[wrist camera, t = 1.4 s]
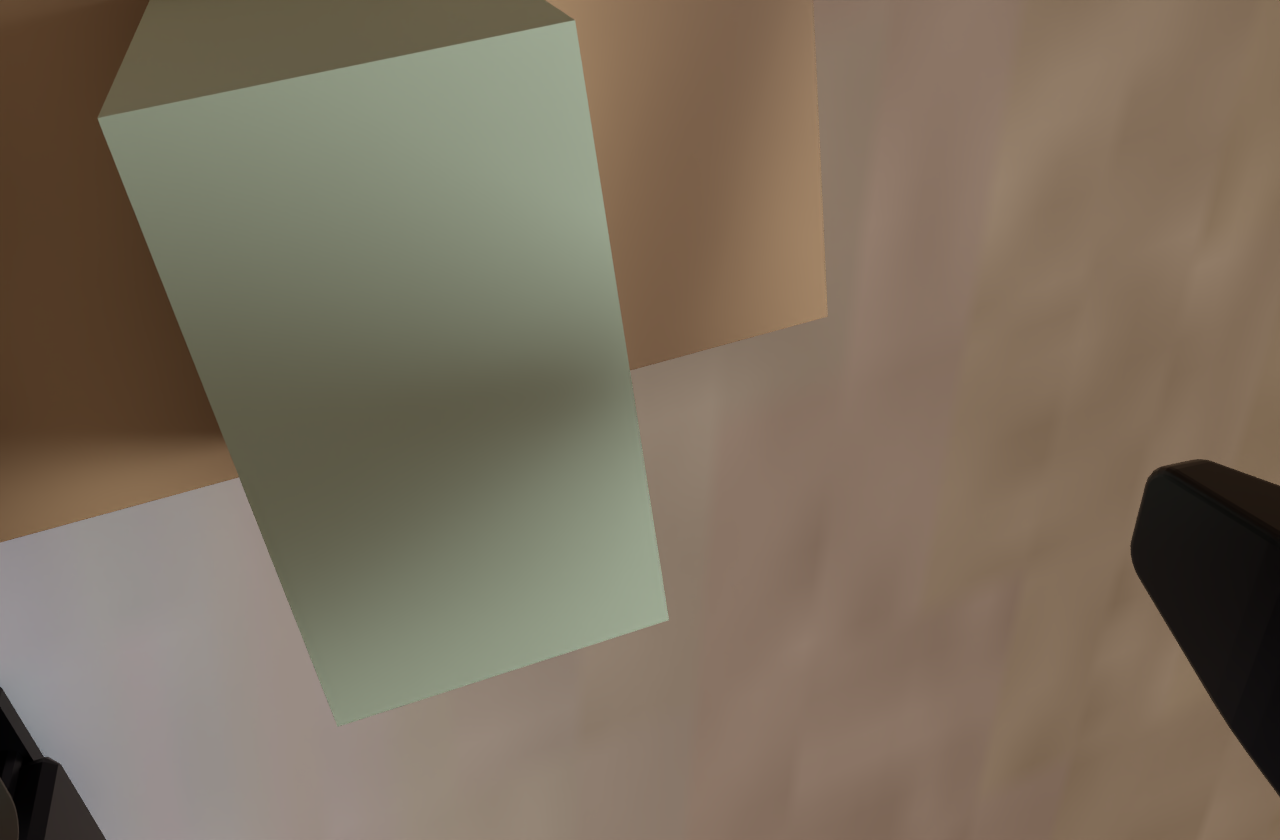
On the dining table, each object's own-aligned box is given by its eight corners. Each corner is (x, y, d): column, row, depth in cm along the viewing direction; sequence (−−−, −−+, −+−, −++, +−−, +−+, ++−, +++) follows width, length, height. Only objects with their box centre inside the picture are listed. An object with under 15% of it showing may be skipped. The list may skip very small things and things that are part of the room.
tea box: (540, 369, 19) (673, 619, 13) (305, 431, 18) (337, 726, 12) (451, -64, 15) (581, 19, 10) (153, -9, 15) (97, 118, 9)
